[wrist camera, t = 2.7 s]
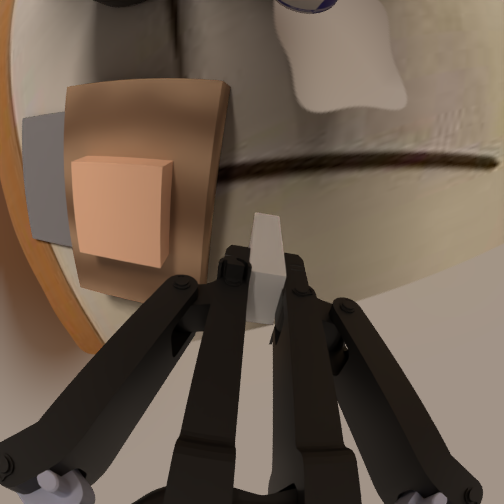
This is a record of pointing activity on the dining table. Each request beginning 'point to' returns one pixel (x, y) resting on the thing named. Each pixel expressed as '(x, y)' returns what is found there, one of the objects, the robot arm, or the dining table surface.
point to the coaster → (123, 207)
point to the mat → (45, 177)
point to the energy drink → (307, 5)
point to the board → (151, 147)
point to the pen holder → (119, 2)
